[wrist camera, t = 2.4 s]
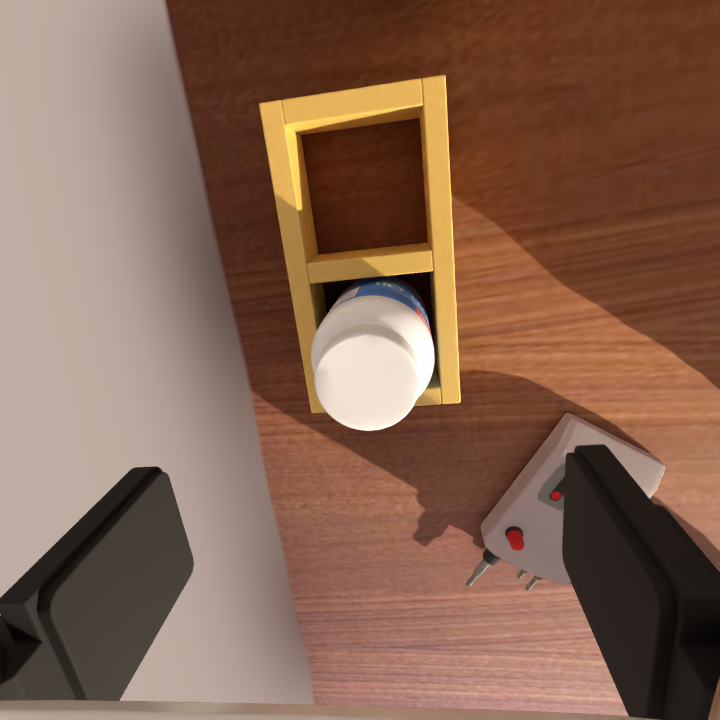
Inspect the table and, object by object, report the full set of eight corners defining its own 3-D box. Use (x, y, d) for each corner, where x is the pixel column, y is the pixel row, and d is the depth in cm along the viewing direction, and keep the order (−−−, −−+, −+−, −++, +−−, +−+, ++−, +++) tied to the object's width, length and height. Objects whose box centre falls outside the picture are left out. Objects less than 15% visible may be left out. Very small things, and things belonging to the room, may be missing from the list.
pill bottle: (447, 317, 26) (473, 385, 16) (383, 380, 27) (374, 474, 18) (375, 251, 25) (360, 284, 15) (314, 321, 26) (268, 389, 17)
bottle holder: (321, 387, 28) (311, 413, 24) (278, 116, 23) (258, 103, 19) (453, 378, 27) (460, 403, 23) (438, 92, 22) (445, 73, 18)
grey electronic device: (679, 435, 27) (712, 463, 24) (528, 603, 32) (541, 642, 29) (584, 386, 26) (607, 408, 23) (447, 565, 32) (452, 601, 29)
